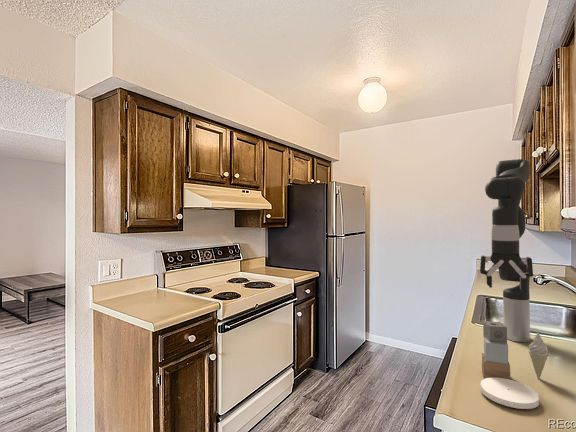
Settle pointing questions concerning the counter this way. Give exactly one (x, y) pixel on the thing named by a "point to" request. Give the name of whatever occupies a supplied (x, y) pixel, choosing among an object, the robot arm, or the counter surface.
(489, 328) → the dice cube
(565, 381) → the counter surface
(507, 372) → the tower base
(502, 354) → the tower top
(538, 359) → the ice cream cone
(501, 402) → the plastic lid
